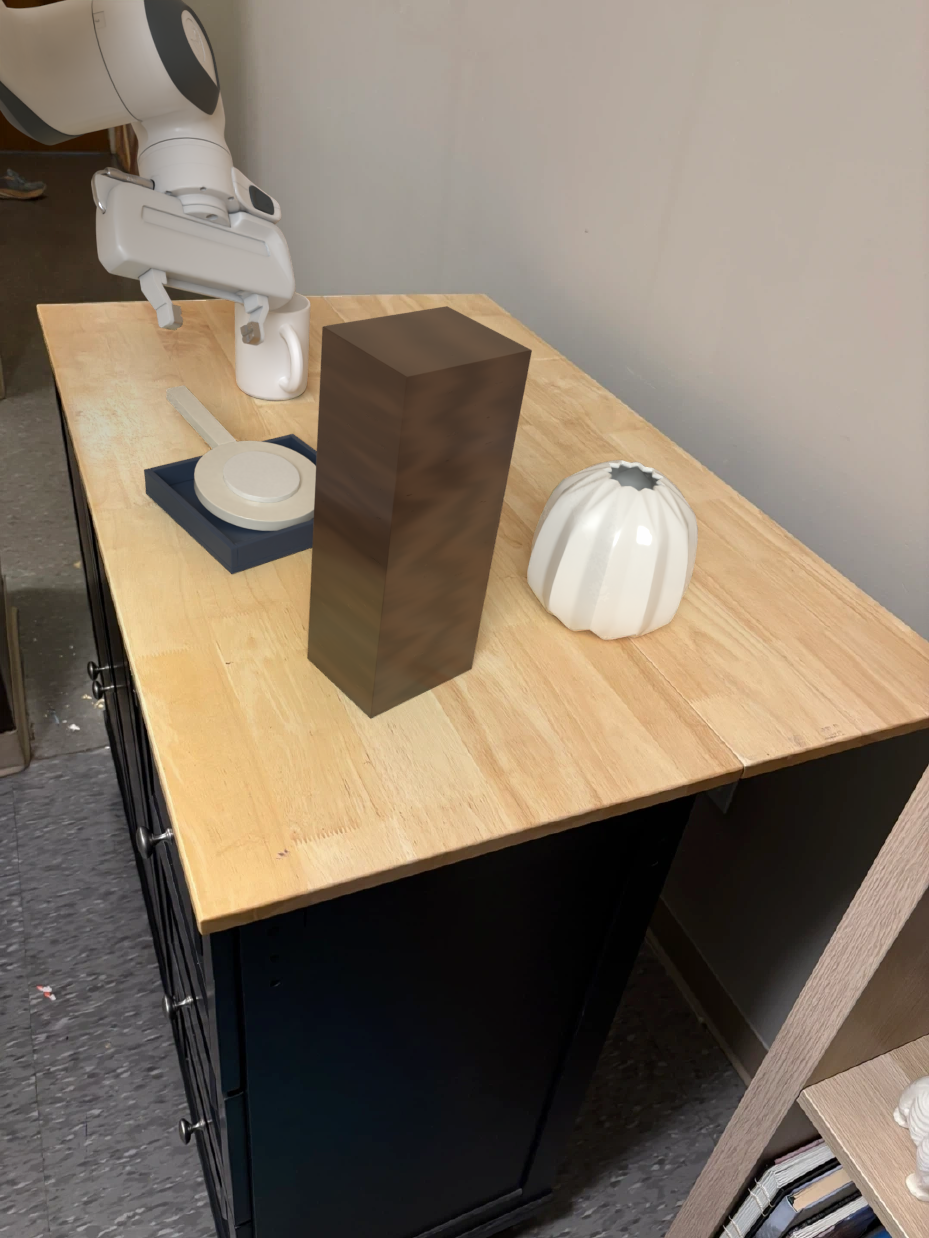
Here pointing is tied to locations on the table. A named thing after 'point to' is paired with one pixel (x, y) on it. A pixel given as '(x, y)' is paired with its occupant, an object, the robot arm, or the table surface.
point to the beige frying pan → (247, 474)
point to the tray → (215, 535)
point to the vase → (614, 550)
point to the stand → (408, 498)
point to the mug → (275, 352)
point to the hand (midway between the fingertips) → (214, 335)
